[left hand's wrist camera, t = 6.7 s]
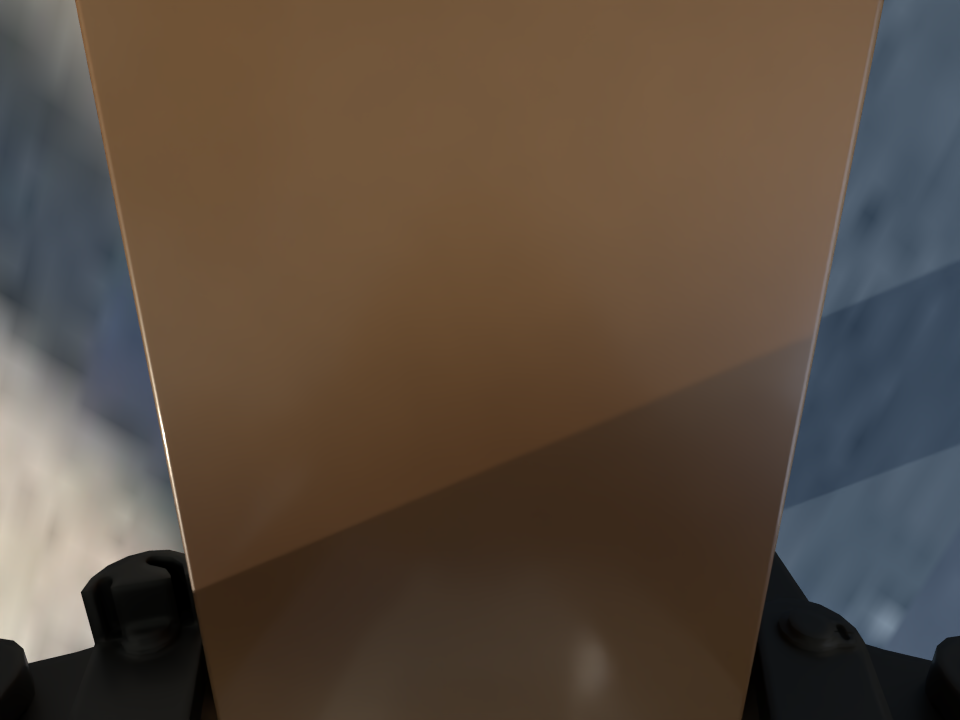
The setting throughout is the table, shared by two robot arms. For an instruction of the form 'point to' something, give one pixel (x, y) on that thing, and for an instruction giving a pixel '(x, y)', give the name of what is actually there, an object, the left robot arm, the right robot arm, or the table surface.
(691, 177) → the brown box
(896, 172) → the table surface
